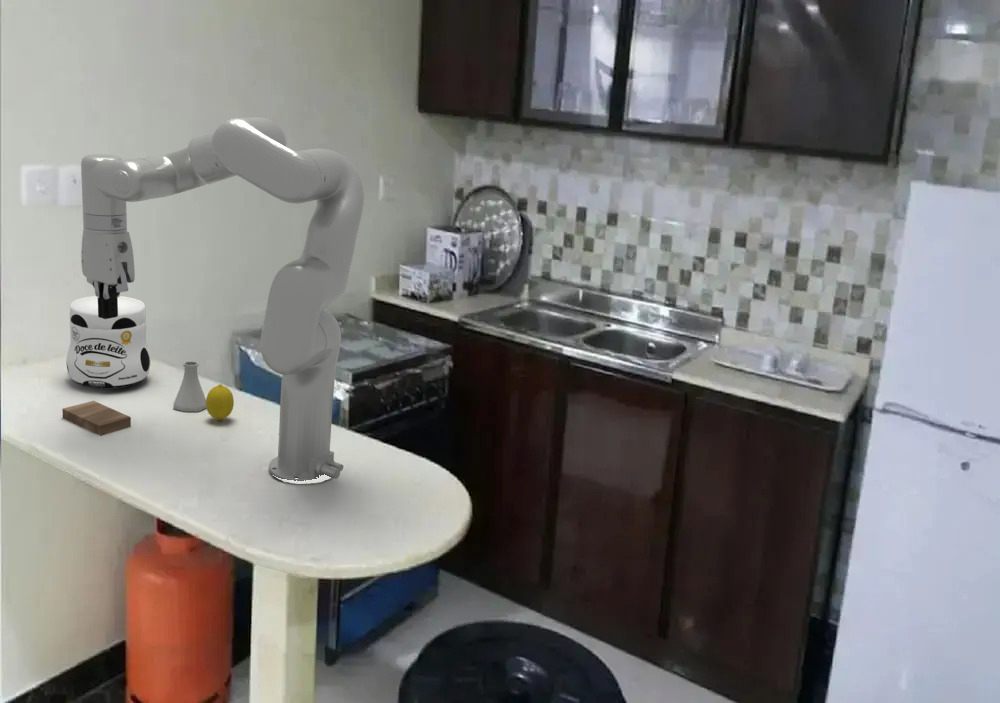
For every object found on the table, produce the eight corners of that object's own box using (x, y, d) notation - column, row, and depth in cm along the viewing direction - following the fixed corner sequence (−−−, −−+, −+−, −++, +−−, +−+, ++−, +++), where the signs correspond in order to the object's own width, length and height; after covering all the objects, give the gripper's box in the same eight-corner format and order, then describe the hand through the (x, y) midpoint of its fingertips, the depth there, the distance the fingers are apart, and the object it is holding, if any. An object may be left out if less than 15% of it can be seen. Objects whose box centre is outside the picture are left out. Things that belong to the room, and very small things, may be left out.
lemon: (200, 421, 193) (200, 385, 190) (216, 413, 198) (217, 378, 196) (222, 427, 191) (223, 391, 189) (238, 419, 196) (239, 383, 194)
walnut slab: (130, 417, 186) (93, 400, 192) (99, 425, 180) (62, 408, 186) (130, 428, 187) (93, 411, 193) (99, 437, 181) (62, 420, 187)
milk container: (83, 399, 197) (81, 318, 192) (55, 374, 209) (53, 297, 204) (162, 387, 209) (163, 310, 204) (132, 364, 221) (132, 291, 215)
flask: (201, 414, 197) (202, 370, 194) (167, 410, 197) (167, 366, 194) (212, 402, 204) (213, 359, 201) (179, 399, 204) (180, 355, 201)
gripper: (148, 227, 173) (150, 322, 178) (97, 214, 180) (100, 306, 185) (113, 230, 167) (116, 329, 172) (61, 217, 174) (66, 312, 179)
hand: (108, 317), depth 178 cm, fingers closed
